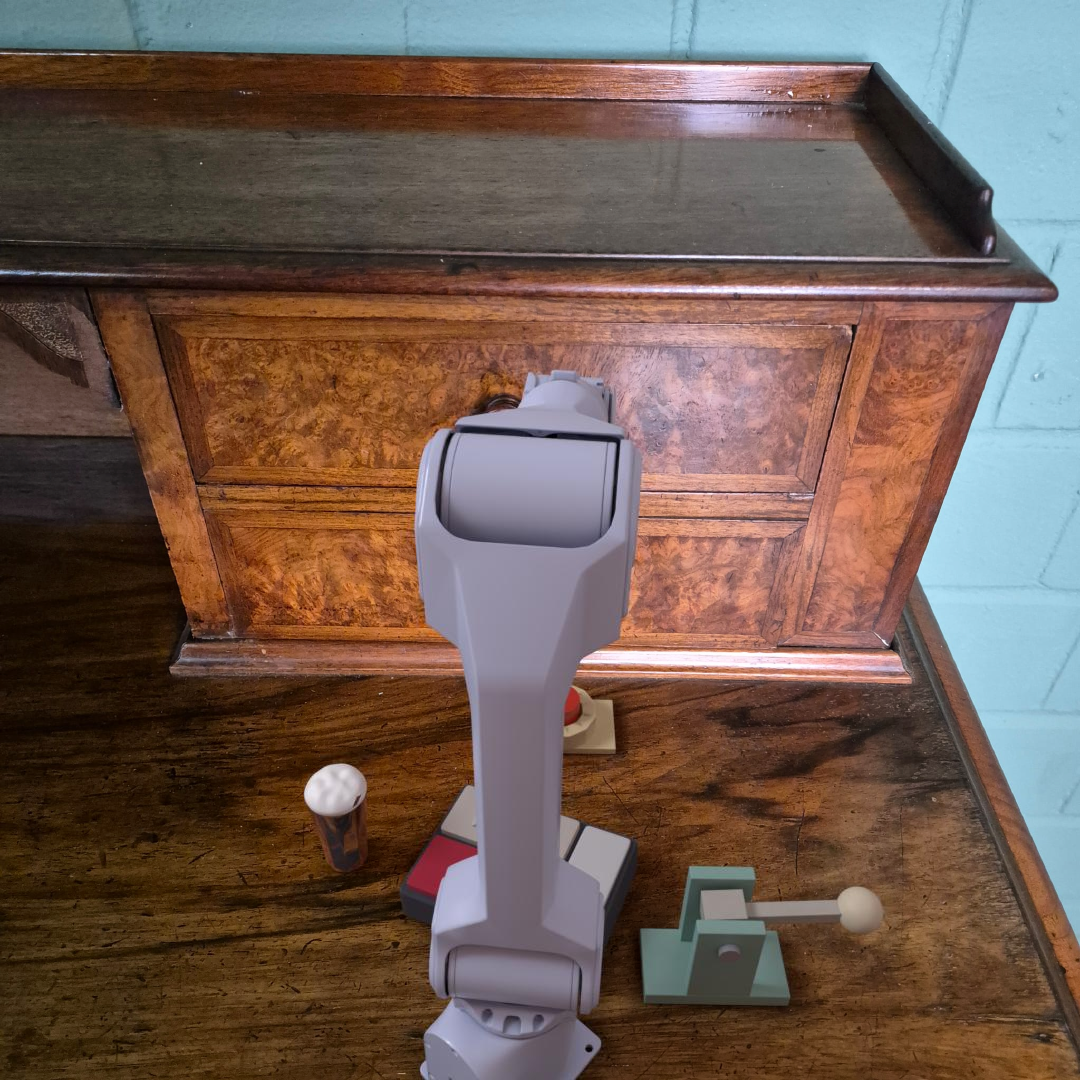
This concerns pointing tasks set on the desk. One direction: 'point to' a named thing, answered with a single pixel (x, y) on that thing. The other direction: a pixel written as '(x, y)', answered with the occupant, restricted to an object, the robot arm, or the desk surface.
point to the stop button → (571, 707)
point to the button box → (591, 727)
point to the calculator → (579, 846)
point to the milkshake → (339, 814)
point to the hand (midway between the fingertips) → (561, 652)
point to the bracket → (713, 951)
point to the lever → (797, 909)
